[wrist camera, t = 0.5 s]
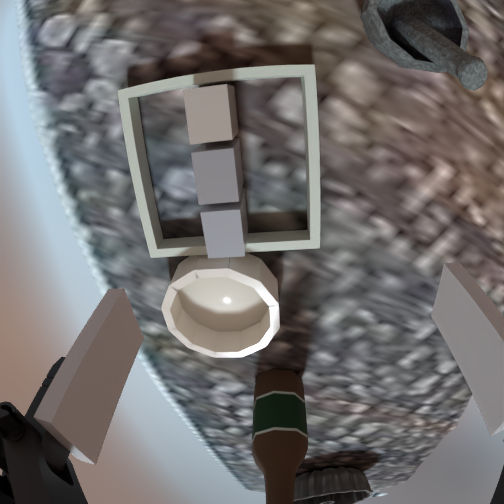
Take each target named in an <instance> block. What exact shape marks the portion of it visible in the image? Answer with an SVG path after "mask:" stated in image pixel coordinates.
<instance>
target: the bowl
mask: <svg viewBox="0 0 504 504" xmlns="http://www.w3.org/2000/svg"><path fill="white" fill-rule="evenodd" d="M161 308H162V312H163V315H164V318H165V321H166V324H167V327H168V329H169V331H170V332H171V333H172V334H173V335H174V336H176V337H177V338H178V339H179V340H180V341H181V342H182V343H183V344H184V345H185V346H187V347H189V348H190V349H192V350H195V351H198V352H201V353H203V354H206V355H209V356H212V357H244V356H246V355H248V354H251V353H253V352H255V351H258V350H260V349H262V348H264V347H266V346H267V345H268V343H269V342H270V341H271V339H272V338H273V337H274V335H275V334H276V333H277V331H278V330H279V328H280V321H279V299H278V281H277V279H276V278H275V276H274V275H273V274H272V272H271V271H270V270H269V269H268V267H267V266H266V265H265V263H264V262H263V261H262V260H261V259H260V258H258V257H256V256H253V255H251V254H249V253H245V256H242V257H224V258H208V255H191V256H189V257H188V258H186V259H185V260H183V261H182V262H180V263H179V265H178V267H177V269H176V271H175V274H174V276H173V278H172V280H171V283H170V285H169V288H168V290H167V293H166V296H165V298H164V301H163V304H162V307H161Z"/></svg>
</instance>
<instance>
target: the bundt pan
mask: <svg viewBox="0 0 504 504" xmlns="http://www.w3.org/2000/svg"><path fill="white" fill-rule="evenodd" d="M372 493H373V490H371V488H370V485H369V483H368V480H367V477H366V475H365V474H364V473H363V472H362V471H360V470H358V469H355V468H345V467H342V466H341V467H338V468H336V469H335V468H326V469H324V470H322V471H320V470H314V471H313V472H312V473H310V472H307V473H304V474H302V475H300V476H296V477H295V488H294V504H355V503H358V502H359V501H363V500H365V499H366V498H368V497H370V496H372Z"/></svg>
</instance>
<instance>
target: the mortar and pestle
mask: <svg viewBox="0 0 504 504" xmlns="http://www.w3.org/2000/svg"><path fill="white" fill-rule="evenodd" d="M360 17H361V19H362V21H363V24H364V26H363V27H364V29H365V31H366V34H367V36H368V38H369V40H370V43H371V44H372V45H373V46H374V47H376V48H377V49H378V50H380V51H381V52H382V53H384V54H385V55H386V56H387V57H389V58H390V59H391V60H392V61H394V62H395V63H396V64H397V65H399V66H400V67H404V68H410V69H417V70H424V71H430V72H436V73H440V72H446V71H448V72H449V73H451V74H452V75H454V76H455V77H457V78H458V80H459V81H460V83H461V84H462V86H464V87H465V88H466V89H469V90H477V89H479V88H480V87H482V86H483V84H484V82H485V81H486V79H487V67H486V66H485V64H484V62H483V61H482V60H481V59H480V58H479V57H475V56H471V55H469V54H468V53H467V52H466V47H467V41H468V34H469V29H468V27H467V24H466V22H465V19H464V17H463V14H462V12H461V10H460V8H459V5H458V3H457V1H456V0H364V2H363V7H362V11H361V16H360Z"/></svg>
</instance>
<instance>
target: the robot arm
mask: <svg viewBox="0 0 504 504" xmlns="http://www.w3.org/2000/svg"><path fill="white" fill-rule="evenodd" d="M431 317H432V319H433V320H434V322H435V324H436V326H437V327H438V329H439V331H440V332H441V334H442V336H443V338H444V340H445V341H446V343H447V345H448V347H449V349H450V351H451V352H452V354H453V356H454V358H455V360H456V362H457V364H458V366H459V368H460V370H461V371H462V373H463V375H464V377H465V379H466V382H467V384H468V386H469V388H470V390H471V392H472V394H473V396H474V398H475V400H476V402H477V405H478V407H479V409H480V411H481V414H482V416H483V418H484V421H485V423H486V425H487V428H488V430H489V432H490V435H494V434H496V433H498V432H500V431H502V430H504V316H503V315H502V313H501V312H500V311H499V310H498V308H497V307H496V306H495V305H494V303H493V302H492V301H491V300H490V298H489V297H488V296H487V295H486V293H485V292H484V291H483V290H482V289H481V287H480V286H479V285H478V284H477V283H476V282H475V280H474V279H473V278H472V277H471V276H470V275H469V273H468V272H467V271H466V270H465V269H464V268H463V267H462V266H461V265H460V263H459V262H455V263H446V264H444V267H443V271H442V276H441V280H440V284H439V288H438V292H437V296H436V299H435V303H434V307H433V310H432V314H431ZM143 339H144V337H143V334H142V332H141V330H140V327H139V325H138V323H137V320H136V318H135V315H134V313H133V310H132V308H131V305H130V303H129V300H128V298H127V295H126V293H125V290H124V289H109V290H108V291H107V293H106V294H105V296H104V297H103V299H102V300H101V302H100V303H99V305H98V306H97V308H96V309H95V311H94V312H93V314H92V316H91V317H90V319H89V320H88V322H87V324H86V325H85V326H84V328H83V330H82V331H81V333H80V334H79V336H78V338H77V339H76V341H75V343H74V344H73V346H72V348H71V349H70V351H69V353H68V354H67V356H66V357H61V358H60V359H59V360H58V361H57V362H56V363H55V364H54V365H53V366H52V368H51V369H50V371H49V373H48V375H47V378H45V380H44V381H43V383H42V387H40V389H39V391H38V392H37V394H36V396H35V398H34V400H33V402H32V403H31V405H30V407H29V409H28V411H27V413H26V415H25V416H23V415H22V414H21V413H20V412H19V411H18V410H17V409H16V408H15V406H13V405H12V404H11V403H10V402H2V403H0V468H1V469H2V470H3V472H2V476H1V475H0V504H88V502H87V500H86V498H85V496H84V493H83V491H82V489H81V486H80V484H79V481H78V479H77V476H76V473H75V471H74V468H73V465H72V463H71V461H70V460H69V459H68V456H69V453H71V454H73V455H74V456H75V457H76V458H77V459H79V460H81V461H84V462H88V463H91V464H95V465H96V463H97V460H98V457H99V454H100V451H101V448H102V445H103V442H104V439H105V437H106V434H107V431H108V428H109V425H110V422H111V420H112V417H113V414H114V412H115V409H116V406H117V404H118V401H119V398H120V396H121V393H122V390H123V388H124V385H125V383H126V380H127V377H128V375H129V373H130V370H131V367H132V365H133V363H134V360H135V358H136V355H137V353H138V350H139V348H140V346H141V343H142V341H143ZM503 442H504V440H503ZM490 504H504V466H503V470H502V473H501V476H500V479H499V482H498V484H497V487H496V490H495V493H494V495H493V498H492V500H491V503H490Z"/></svg>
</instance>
